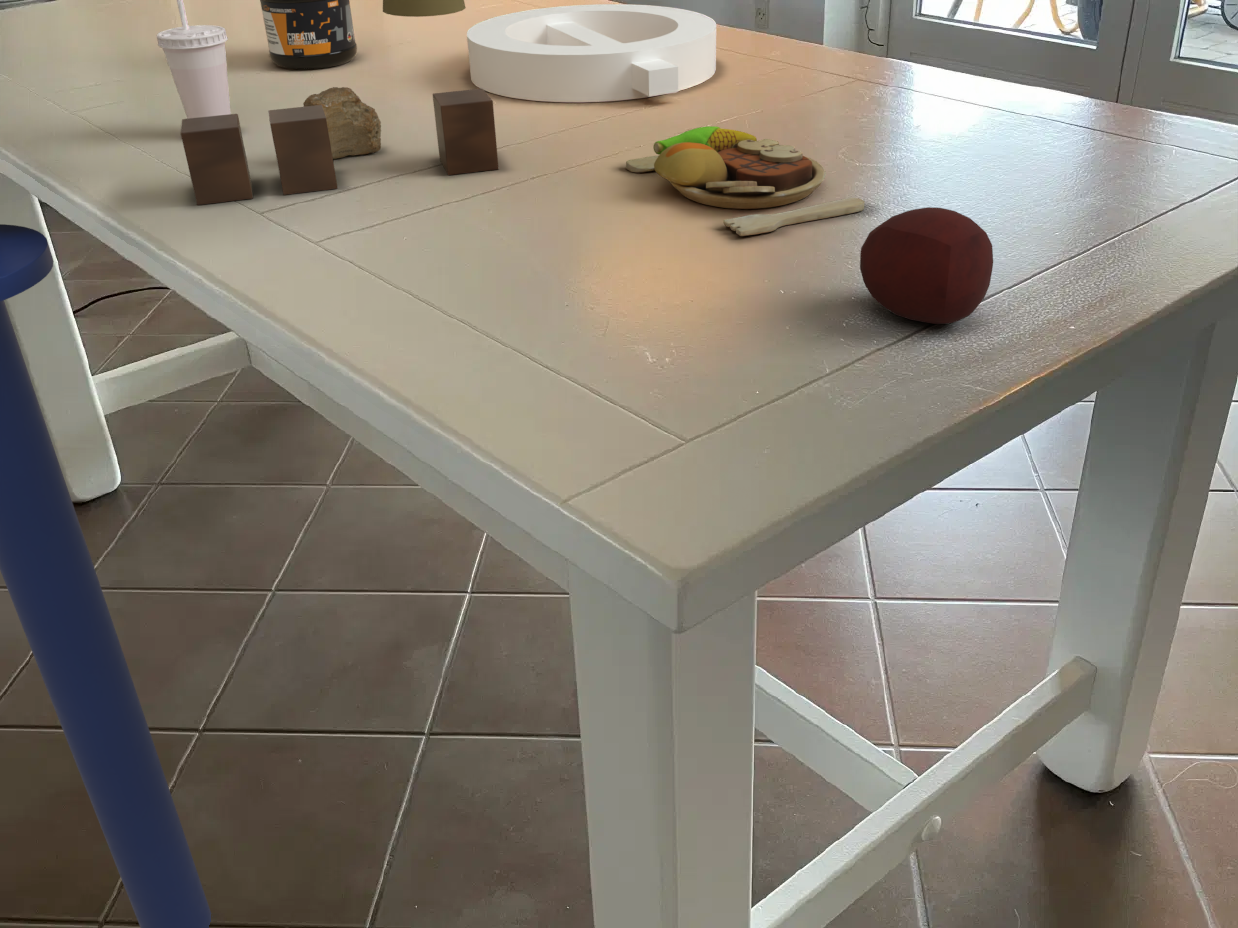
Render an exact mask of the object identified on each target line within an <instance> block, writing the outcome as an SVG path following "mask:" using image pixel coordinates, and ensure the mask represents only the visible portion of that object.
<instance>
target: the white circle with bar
mask: <svg viewBox="0 0 1238 928" xmlns="http://www.w3.org/2000/svg"><path fill="white" fill-rule="evenodd" d="M466 41H467V51H468V52H467V53H468V63H469V72H470V81H471V83H472V84H474V86H476V87H477V88H478V89H483V90H484V91H485V92H488V93H491V94H494V95H497V96H502V97H507V98H513V99H517V100H518V99H519V100H524V101H525V100H527V101H534V102H535V101H537V102H549V103H602V102H617V101H627V100H629V101H630V100H636V99H644V98H650V97H656V96H662V95H669V94H676V93H679V91H683V90H686V89H690V88H693V87H695V86H698V85H700V84H702V83H704V82H707V81H708V80H710V79H711V78H712V77H713V76H714V75H715V73H716V69H717V22H716V21H715V20H714V19H713V18H712V17H710V16H708V15H706V14H703V13H700V12H697V11H693V10H689V9H683V8H679V7H678V8H677V7H671V6H663V5H649V4H630V3H626V4H625V3H617V4H616V3H609V4H608V3H601V4H600V3H595V4H574V5H561V6H551V7H542V8H534V9H527V10H522V11H515V12H510V13H506V14H501V15H498V16H494V17H490V18H488V19H484V20H482V21H479V22H477V23H475V24H474V25H472V26H470V28H469V29H468V30H467V31H466Z"/></svg>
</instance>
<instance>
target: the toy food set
mask: <svg viewBox="0 0 1238 928" xmlns="http://www.w3.org/2000/svg"><path fill="white" fill-rule="evenodd" d="M653 152H654V153H655V154H656V155H651V156H644V157H640V158H633V159H628V160H625V168H626V170H628V171H629V172H632V173H647V172H652V171H653V172H654V171H655V173H656V174H658V175H659V176H660V177H662V178H663V179H665V180H667V181H669V182H670V184H671V186H672V187H674V189H676V190H677V191H678V192H679V193H680V194H681V195H682V196H683V197H685V198H687V199H689V200H691V201H693V202H696V203H699V204H702V205H705V206H710V207H717V208H724V209H735V210H736V209H737V210H754V209H768V208H775V207H781V206H785V205H789V204H792V203H796V202H798V201H801V200H803V199H805V198H806V197H809V195H811V194H812V193H813V191H814V190H816V189H818V187H819V186H821V185H822V183H823V182H824V180H825V179H826V175H827V172H826V170H825V168H824V166H823V165H822V164H821V163H820V162H818V161H817V160H815V159H813V158H811V157H808V156H806V155H804V153H803V151H802V150H796V146H794V145H789V144H780V142H779V141H777V140H775V139H771V138H763V139H760V140H758V139H757V137H756V136H755V135H754V134H750V133H748V132H745V131H741V130H736V129H729V128H721V126H720V127H719V126H713V125H711V126H710V125H709V126H700V127H696V128H692V129H689V130H686V131H683V132H681V133H679V134H677V135H674V136H671V137H668V138H665V139H661V140H657V141H655V142H654V143H653ZM865 204H866V203H865V201H864V200H863V199H862V198H858V197H847V198H842V199H836V200H832V201H828V202H822V203H818V204H815V205H814V204H813V205H810V206H805V207H801V208H797V209H793V210H788V211H784V212H779V213H771V214H768V213H767V214H765V213H764V214H763V213H755V214H749V215H744V216H738V217H733V218H727V219H724V220H722V221H723V225H724V226H726V227H727V228H729V229H730V230H731V231H733V232H735V233H736V234H737V235H738V236H740V237H747V236H753V235H754V236H755V235H759V234H766V233H770V232H775V230H777V229H778V228H781V227H784V226H789V225H794V224H795V225H796V224H800V223H805V222H810V221H811V222H812V221H817V220H821V219H822V220H823V219H828V218H833V217H838V216H844V215H849V214H853V213H858V212H862V211H864V210H865Z"/></svg>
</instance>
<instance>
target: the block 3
mask: <svg viewBox="0 0 1238 928" xmlns="http://www.w3.org/2000/svg"><path fill="white" fill-rule="evenodd" d="M432 104H433V112H434V120H435V130H436V138H437V147H438V155H439V161H440V163H441V165H442V167H443V168H444V170H445V172H446V173H447V175H448V176H453V175H462V174H470V173H471V174H472V173H478V172H479V173H480V172H487V171H496V170H499V156H498V147H497V145H498V144H497V136H496V135H497V134H496V122H495V112H494V100H493V99H492V97H490V96H489V94H488V93H487V91H485V90H483V89H481V88H474V89H473V88H472V89H465V90H464V89H463V90H454V91H445V92H435V93H434V92H433V93H432Z"/></svg>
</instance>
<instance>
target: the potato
mask: <svg viewBox="0 0 1238 928" xmlns="http://www.w3.org/2000/svg"><path fill="white" fill-rule="evenodd" d="M859 256H860V257H859V258H860V259H859V269H860V273H861V277H862V280H863V283H864V286H865V288H866V289H867V291H868V292H869V294H870V296H871V297H872V298H873V299H874V300H875V301H876V302H877V303H878V304H879V305H880V306H882V307H883V308H885V309H886V310H887V311H889V312H891V313H892V314H894V315H896V316H899V317H901V318H904V319H907V320H911V321H916V322H921V323H926V324H931V325H932V324H933V325H945V324H953V323H956V322H960V321H961V320H963V319H965V318H967V317H968V316H970V315H971V314H972V313H973V312H974V311H975V310H976V309H977V308H978V307H979V306H980V304H981V303H982V302H983V300H984V299H985V296H986V295H987V292H988V290H989V287H990V285H991V279H992V275H993V268H994V251H993V243H992V241H991V240H990V238H989V236H988V233H987V231H986V230H984V229H983V228H982V227H981V226H980V225H979V224H978V223H977V222H975V221H974V220H973V219H972V218H970V217H968V216H967V215H964V214H962V213H960V212H958V211H956V210H952V209H947V208H943V207H931V206H930V207H921V208H915V209H910V210H906V211H904V212H901V213H899V214H896V215H892V216H891V217H889V218H888V219H886V220H885V221H884V222H882V223H880V224H879V225H878V226H877V227H874V229H872V230H871V231H870V232H869V233H868V235H867V236H866V237H865V240H864V242H863V244H862V245H861V248H860V254H859Z"/></svg>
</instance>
